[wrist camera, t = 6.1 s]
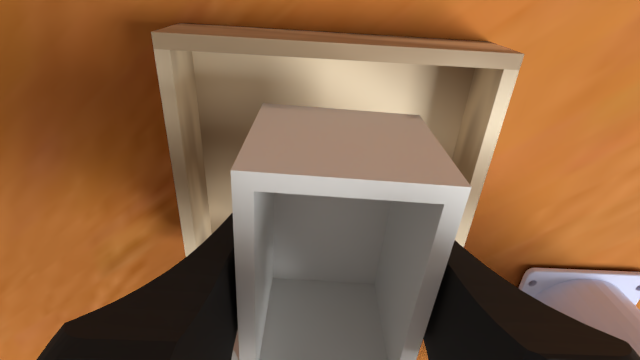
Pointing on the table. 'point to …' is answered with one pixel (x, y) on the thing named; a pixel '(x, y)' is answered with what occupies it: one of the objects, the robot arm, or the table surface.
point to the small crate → (340, 233)
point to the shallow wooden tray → (319, 99)
